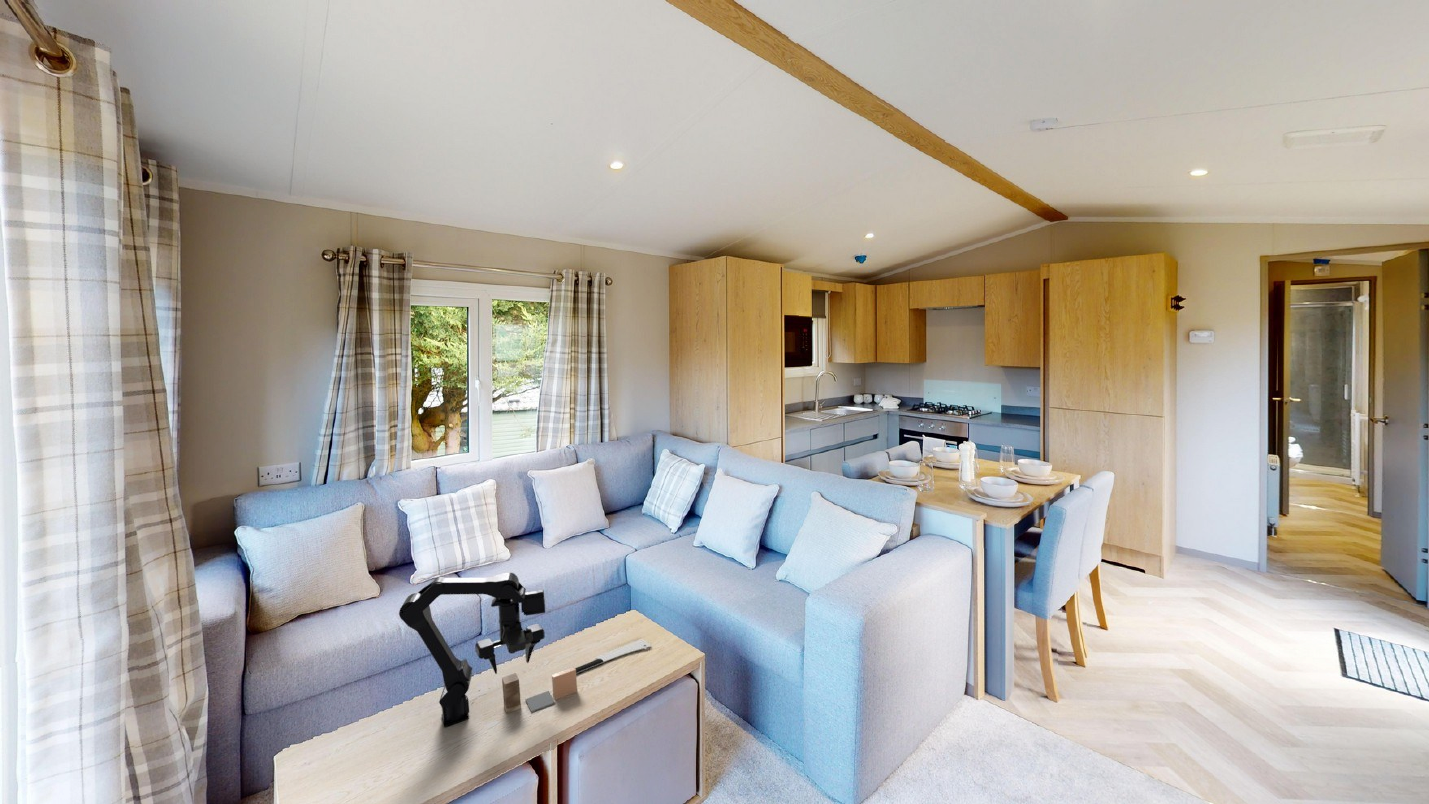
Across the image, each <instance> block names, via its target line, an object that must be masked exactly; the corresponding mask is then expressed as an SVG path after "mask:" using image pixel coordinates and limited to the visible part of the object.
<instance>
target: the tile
mask: <svg viewBox="0 0 1429 804" xmlns="http://www.w3.org/2000/svg"><path fill="white" fill-rule="evenodd" d="M575 668H576V667H571V668H568V669H566V670H562V671H559V672H556V673H554V674H552V675H551V683H552V685H551V686H552V698H553V700H557V699H559V698H562V697H565V696H568V695H570V694H573V693H576V692H578V684H577V675H576V669H575Z"/></svg>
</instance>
